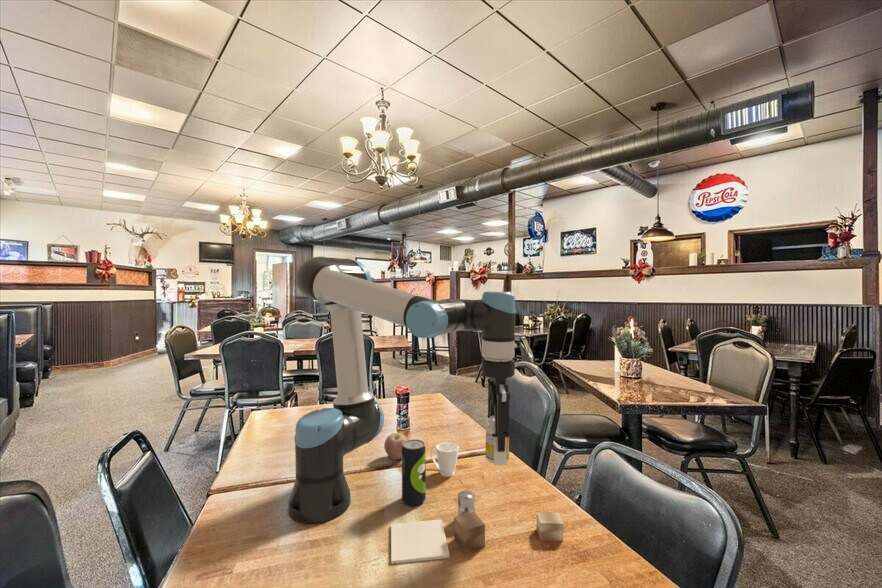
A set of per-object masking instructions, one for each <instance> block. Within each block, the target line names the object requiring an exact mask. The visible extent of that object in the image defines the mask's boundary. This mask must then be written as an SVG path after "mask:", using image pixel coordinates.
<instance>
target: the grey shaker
mask: <svg viewBox="0 0 882 588" xmlns="http://www.w3.org/2000/svg"><path fill="white" fill-rule="evenodd" d="M475 496H476V495H475V493H474V492H473V491H471V490H462V491H459V492H458V493H457V516H459V515H463V514H467V513H471V512H475V513H476V510H475V509H476V508H475V504H476V503H475V498H476V497H475Z"/></svg>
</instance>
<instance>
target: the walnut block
mask: <svg viewBox="0 0 882 588" xmlns="http://www.w3.org/2000/svg"><path fill="white" fill-rule="evenodd" d="M453 518H454V519H453V527H454V529H453V530H454V531H453V532H454V533H453V535H454V537H453V538H455V539H454V541H455V542H456V543H457V545H458V546H459V548H460V549H461V551H462V553H464V554H466V553H465V552H467V553H470V552H473V551H475V550H480V549H483V548H485V547H486V523H485V522H484V521H483V520H482V518H480V517H479V516H478V514H477V513H476V511H475V512H471V513H467V514H463V515H459V516H458V515H455V516H454V517H453Z"/></svg>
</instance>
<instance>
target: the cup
mask: <svg viewBox="0 0 882 588" xmlns="http://www.w3.org/2000/svg"><path fill="white" fill-rule="evenodd" d="M434 451H436V458H437V459H435V456H434ZM459 451H460V446H459V445H458V444H456V443H455V442H449V441H446V442H441V443H438V444H437V445H433V446H432V447H431V452H430V453H431V454H430V457H431V461H432V462H433V464H434V465H435V466H436V468H437V469H438V471H440V473H439V474H440V475H441V476H442V477H446V478H450V477H453V476H454V475H455V474H456V473H455V470H456V468H457V462H458V456H459ZM436 460H437V461H436Z"/></svg>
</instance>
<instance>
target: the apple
mask: <svg viewBox="0 0 882 588" xmlns="http://www.w3.org/2000/svg"><path fill="white" fill-rule="evenodd" d="M407 440H409V439H408V438H407V436H406V435H405V434H403V433H400V432H393V433H391V434H389V435H388V436H387V437H386V439H385V441H384V444H383V445H384V446H383V448H384V452H385V453H386V454H387V456H388V457H389V458H391V459H393V460H402V446H403V443H404V442H405V441H407Z"/></svg>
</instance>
